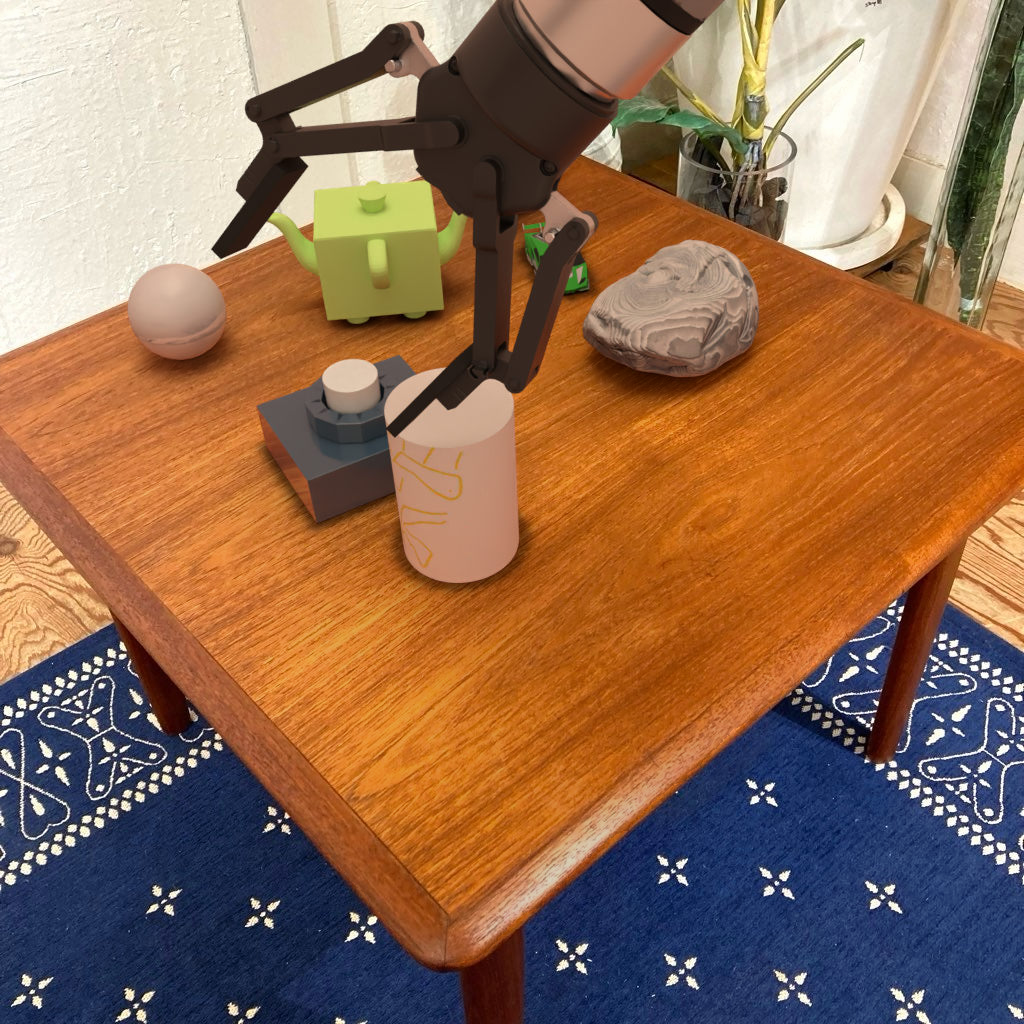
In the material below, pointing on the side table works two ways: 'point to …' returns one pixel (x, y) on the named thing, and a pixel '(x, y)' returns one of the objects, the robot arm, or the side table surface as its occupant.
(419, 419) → the doodled pink cylinder
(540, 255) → the toy car
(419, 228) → the teapot
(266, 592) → the side table surface
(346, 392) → the button
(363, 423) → the push button box
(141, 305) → the bath bomb
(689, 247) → the decorative stone
